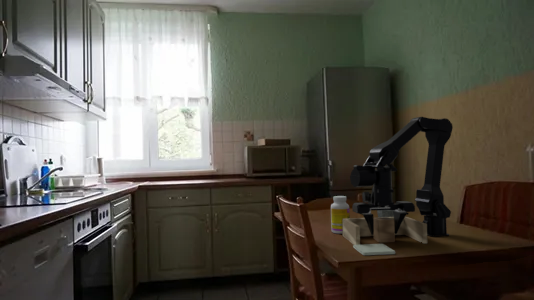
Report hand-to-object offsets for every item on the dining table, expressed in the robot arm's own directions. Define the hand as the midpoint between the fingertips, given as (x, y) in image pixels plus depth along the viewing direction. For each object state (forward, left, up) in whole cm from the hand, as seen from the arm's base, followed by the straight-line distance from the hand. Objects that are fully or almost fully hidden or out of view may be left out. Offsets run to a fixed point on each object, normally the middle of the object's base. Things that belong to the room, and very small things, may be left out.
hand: (383, 234), depth 119 cm
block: (0, 0, -2) cm, 2 cm away
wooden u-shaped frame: (0, 0, -2) cm, 2 cm away
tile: (+8, +12, -2) cm, 14 cm away
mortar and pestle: (-11, -22, -2) cm, 25 cm away
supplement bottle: (+10, -15, -2) cm, 18 cm away
